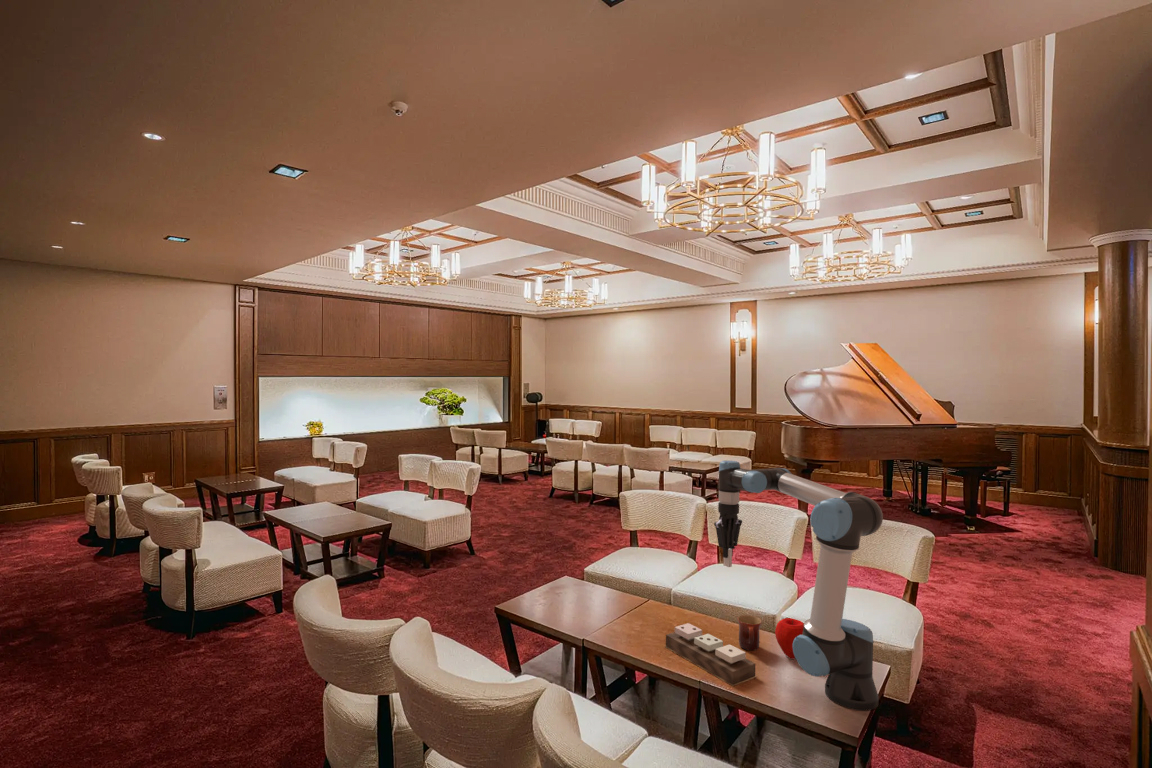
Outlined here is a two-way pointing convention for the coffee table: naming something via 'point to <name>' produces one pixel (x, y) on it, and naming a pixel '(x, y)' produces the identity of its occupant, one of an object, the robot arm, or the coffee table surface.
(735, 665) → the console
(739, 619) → the mug
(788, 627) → the apple
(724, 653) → the tile
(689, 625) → the tile
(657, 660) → the coffee table surface
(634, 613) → the coffee table surface
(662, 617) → the coffee table surface
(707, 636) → the three-pip tile
